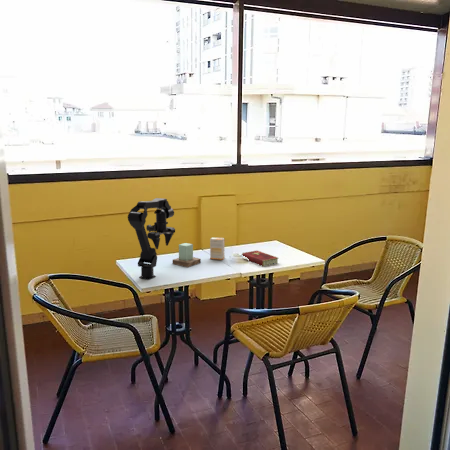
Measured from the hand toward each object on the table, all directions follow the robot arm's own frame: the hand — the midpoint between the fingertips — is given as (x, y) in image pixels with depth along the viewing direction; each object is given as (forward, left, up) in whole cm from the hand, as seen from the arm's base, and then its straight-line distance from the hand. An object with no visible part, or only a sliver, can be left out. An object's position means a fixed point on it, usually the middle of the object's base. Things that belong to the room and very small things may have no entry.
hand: (161, 247), depth 261 cm
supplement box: (+36, -16, -13) cm, 41 cm away
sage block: (+18, -4, -11) cm, 21 cm away
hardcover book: (+45, -41, -14) cm, 62 cm away
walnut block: (+18, -5, -14) cm, 23 cm away
